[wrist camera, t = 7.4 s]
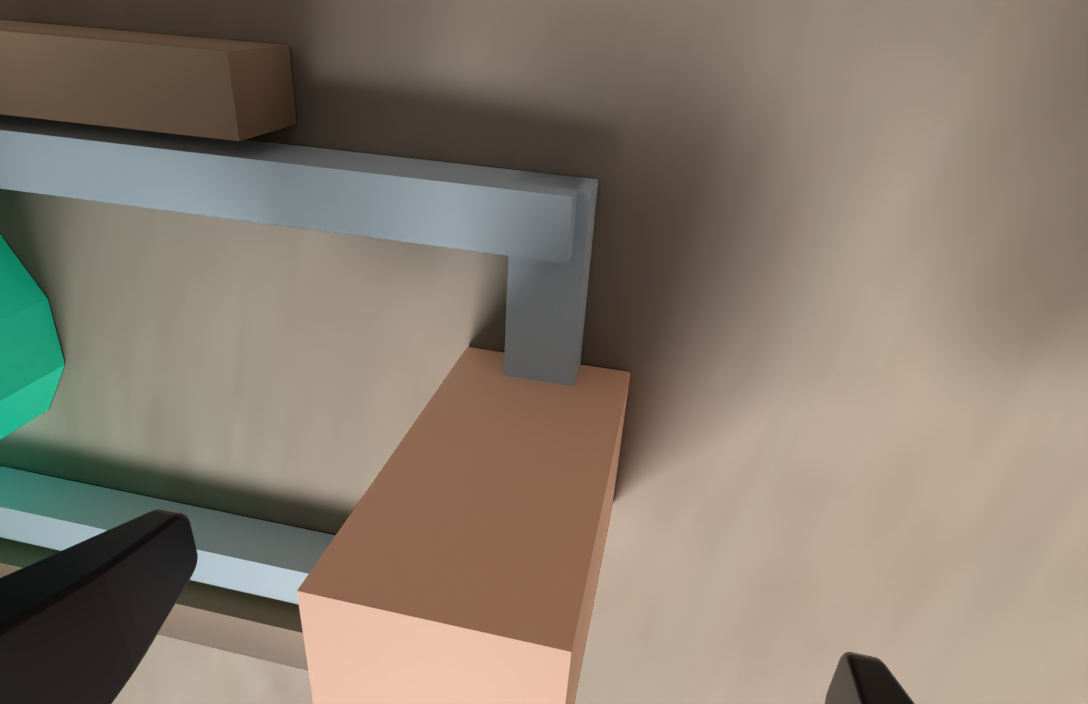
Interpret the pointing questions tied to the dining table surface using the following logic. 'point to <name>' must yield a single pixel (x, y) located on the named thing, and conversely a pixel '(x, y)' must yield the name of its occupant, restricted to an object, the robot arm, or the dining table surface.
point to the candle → (25, 346)
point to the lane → (178, 108)
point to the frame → (426, 450)
